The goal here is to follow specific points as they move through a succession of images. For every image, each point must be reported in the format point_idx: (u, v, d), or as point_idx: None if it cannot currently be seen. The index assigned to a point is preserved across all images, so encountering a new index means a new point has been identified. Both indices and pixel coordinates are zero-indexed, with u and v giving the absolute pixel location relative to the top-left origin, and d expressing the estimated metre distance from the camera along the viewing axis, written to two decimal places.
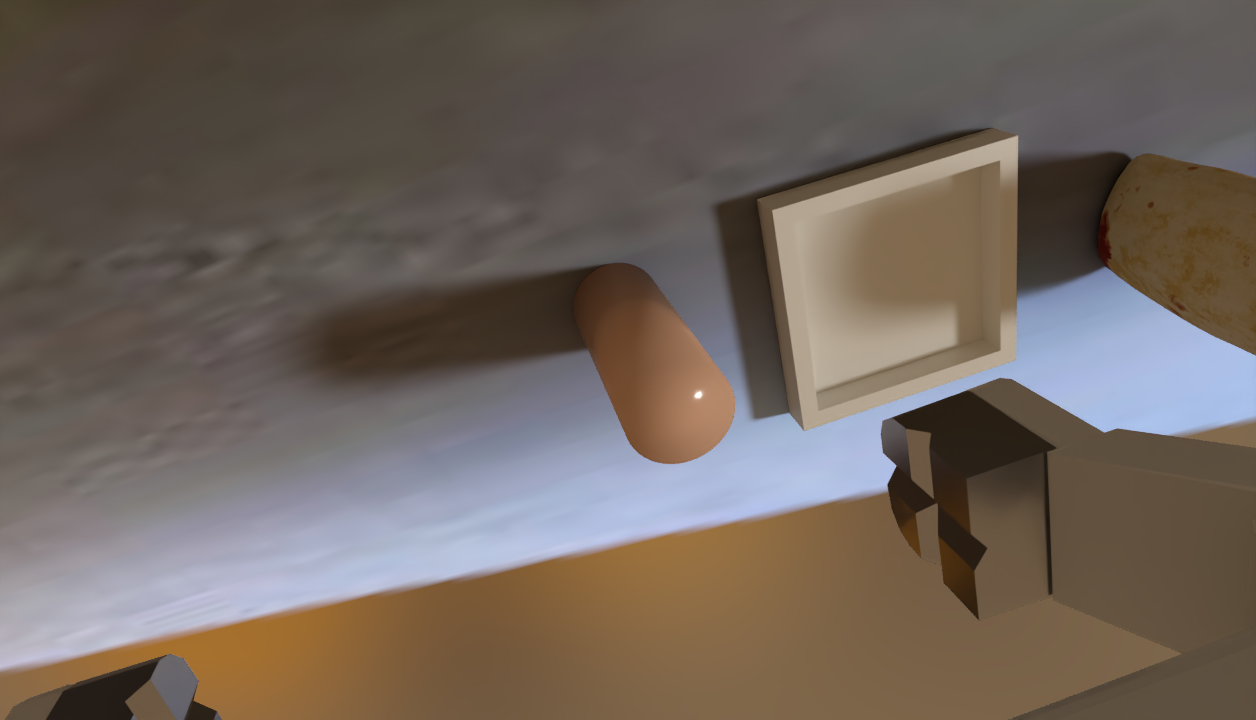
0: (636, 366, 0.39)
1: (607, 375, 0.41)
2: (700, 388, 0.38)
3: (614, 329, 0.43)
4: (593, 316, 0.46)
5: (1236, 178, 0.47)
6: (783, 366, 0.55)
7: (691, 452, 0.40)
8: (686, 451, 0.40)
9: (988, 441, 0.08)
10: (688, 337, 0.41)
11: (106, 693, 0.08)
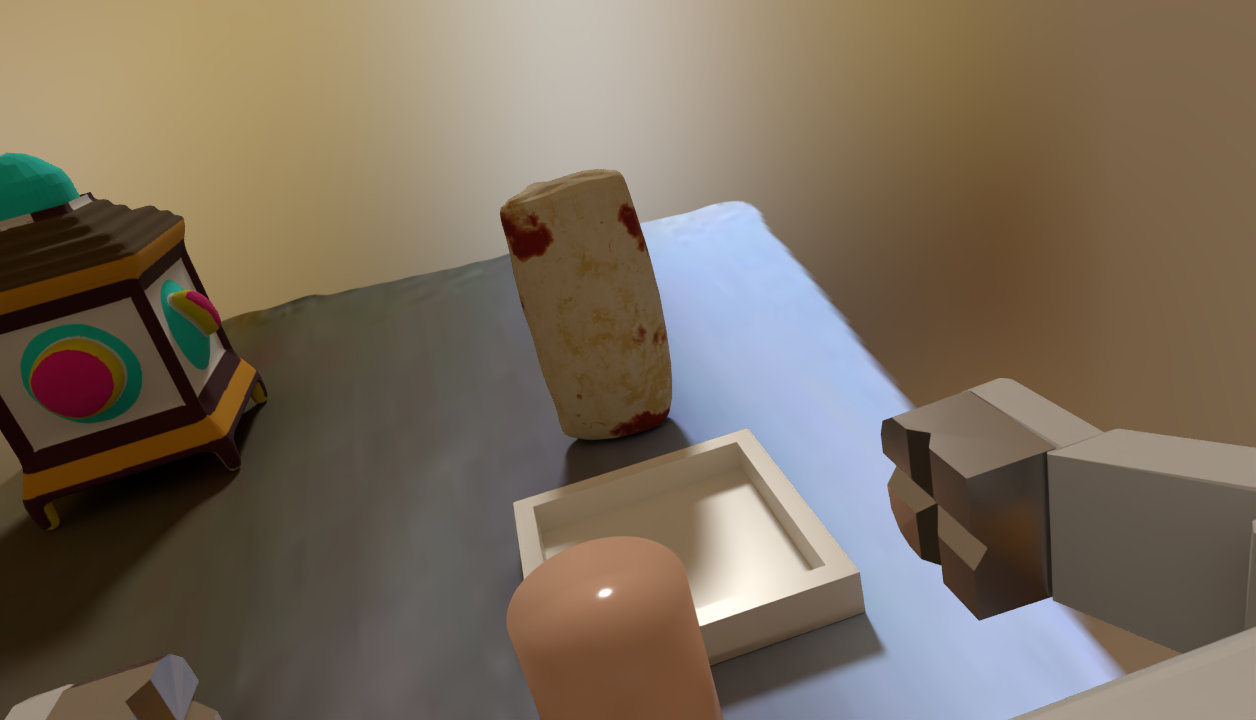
0: (534, 686, 0.23)
1: None
2: (558, 580, 0.25)
3: None
4: None
5: None
6: (788, 633, 0.39)
7: (668, 568, 0.25)
8: (664, 574, 0.24)
9: (988, 440, 0.08)
10: None
11: (106, 693, 0.08)
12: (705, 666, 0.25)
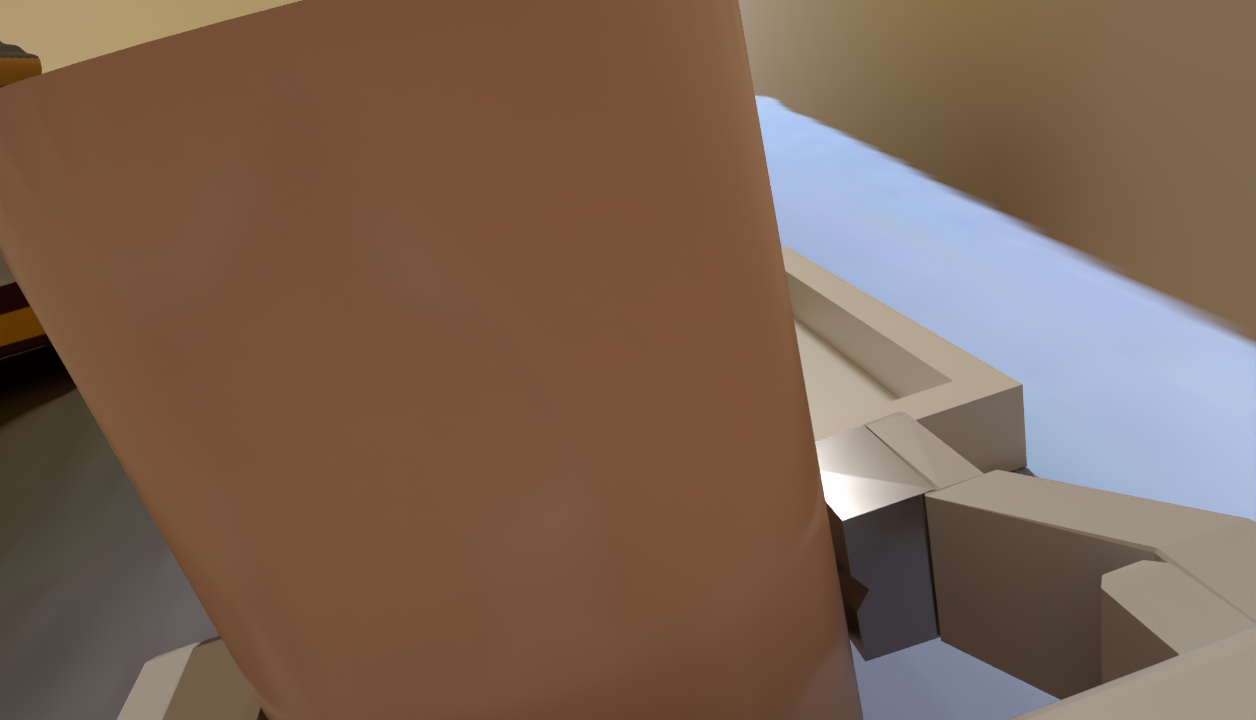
0: (48, 336, 0.05)
1: (378, 688, 0.05)
2: None
3: None
4: None
5: None
6: None
7: None
8: None
9: (871, 479, 0.08)
10: None
11: None
12: (793, 325, 0.06)
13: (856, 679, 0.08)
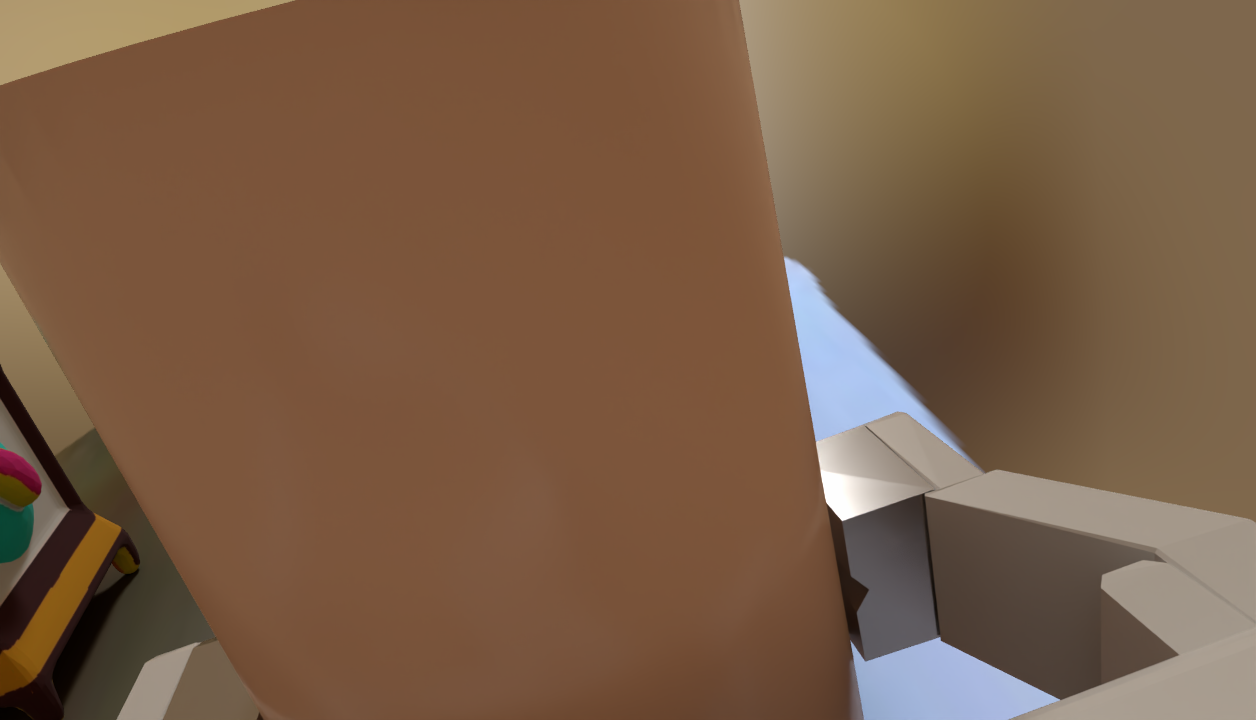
0: (45, 338, 0.05)
1: (377, 692, 0.05)
2: None
3: None
4: None
5: None
6: None
7: None
8: None
9: (871, 480, 0.08)
10: None
11: None
12: (794, 327, 0.06)
13: (857, 682, 0.08)
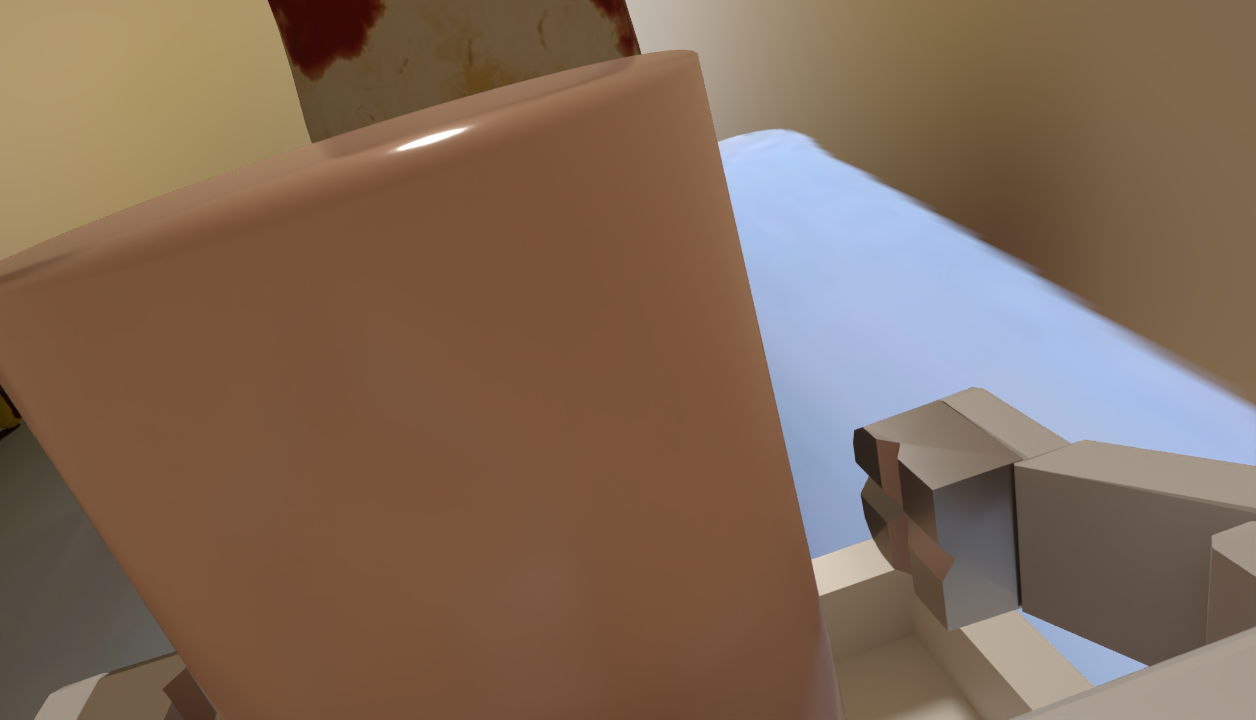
0: (65, 479, 0.06)
1: None
2: (260, 169, 0.07)
3: None
4: None
5: None
6: None
7: (629, 66, 0.07)
8: (612, 73, 0.06)
9: (956, 450, 0.08)
10: None
11: (142, 681, 0.08)
12: (776, 426, 0.07)
13: None
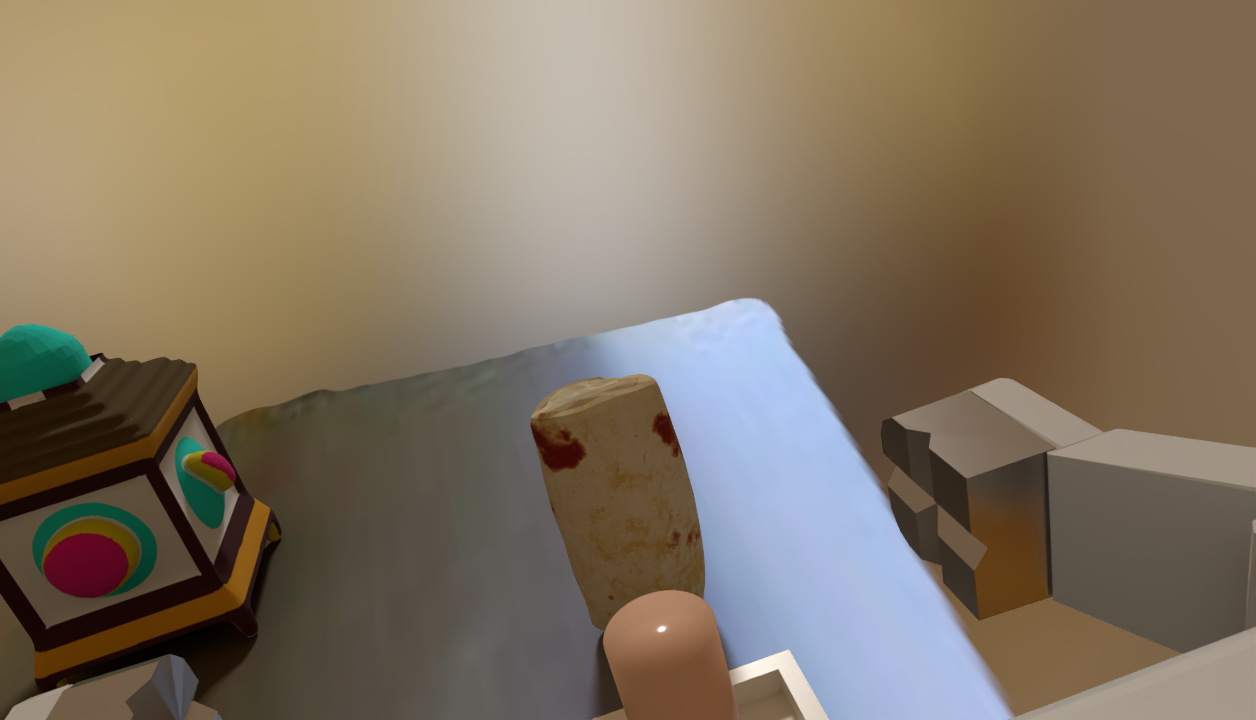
0: (622, 686, 0.38)
1: None
2: (633, 620, 0.40)
3: None
4: None
5: None
6: None
7: (703, 612, 0.39)
8: (701, 617, 0.39)
9: (988, 440, 0.08)
10: None
11: (105, 693, 0.08)
12: (726, 674, 0.39)
13: None
